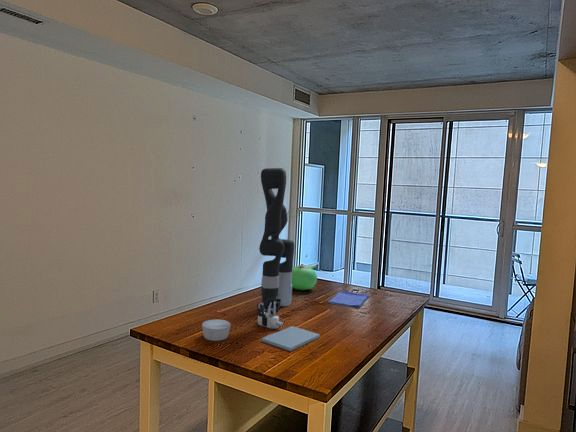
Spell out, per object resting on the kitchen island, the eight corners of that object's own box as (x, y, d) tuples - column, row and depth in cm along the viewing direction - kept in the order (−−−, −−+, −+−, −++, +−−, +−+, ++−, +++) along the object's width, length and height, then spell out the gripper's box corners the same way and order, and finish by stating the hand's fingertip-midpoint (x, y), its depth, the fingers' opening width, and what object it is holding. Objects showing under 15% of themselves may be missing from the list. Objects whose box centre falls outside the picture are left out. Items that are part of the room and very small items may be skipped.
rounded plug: (262, 321, 189) (262, 311, 189) (284, 328, 182) (285, 318, 181) (255, 323, 186) (256, 313, 185) (278, 330, 178) (278, 320, 178)
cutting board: (292, 328, 182) (292, 326, 181) (319, 337, 173) (319, 334, 173) (261, 341, 166) (261, 338, 166) (290, 351, 157) (290, 348, 157)
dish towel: (369, 298, 239) (369, 293, 239) (359, 309, 218) (360, 304, 217) (339, 294, 246) (339, 289, 246) (327, 304, 224) (327, 298, 224)
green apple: (283, 291, 244) (284, 266, 243) (288, 284, 260) (289, 260, 259) (314, 294, 241) (316, 268, 240) (317, 287, 258) (319, 263, 256)
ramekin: (217, 344, 160) (217, 330, 160) (195, 337, 166) (195, 324, 166) (235, 336, 170) (236, 323, 169) (214, 329, 176) (215, 317, 175)
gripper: (273, 281, 191) (271, 318, 192) (252, 286, 180) (250, 326, 181) (287, 284, 186) (284, 322, 188) (266, 289, 175) (264, 330, 176)
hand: (268, 324), depth 184 cm, fingers closed on rounded plug, 4 cm apart
